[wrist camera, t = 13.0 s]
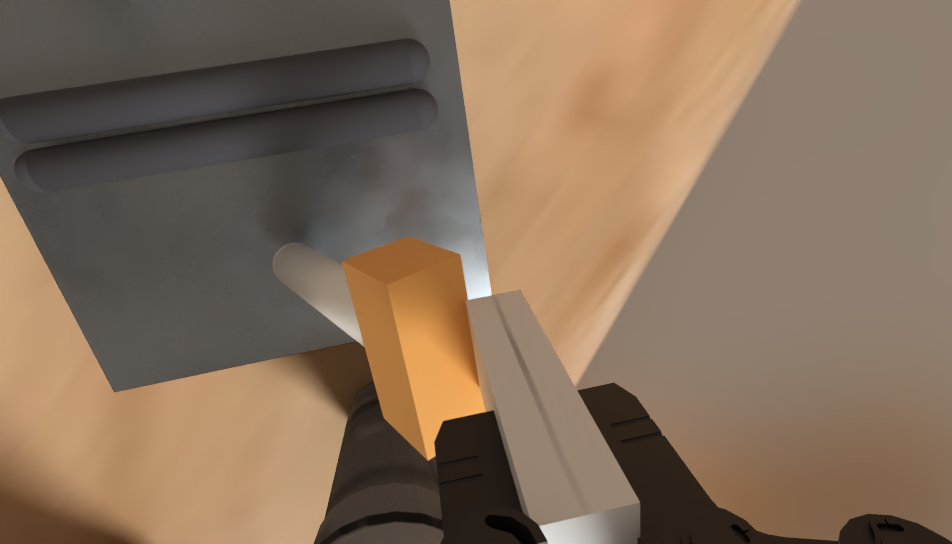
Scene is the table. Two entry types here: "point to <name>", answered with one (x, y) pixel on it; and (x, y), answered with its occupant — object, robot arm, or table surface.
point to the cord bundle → (216, 95)
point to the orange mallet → (399, 327)
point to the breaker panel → (231, 180)
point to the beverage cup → (380, 485)
